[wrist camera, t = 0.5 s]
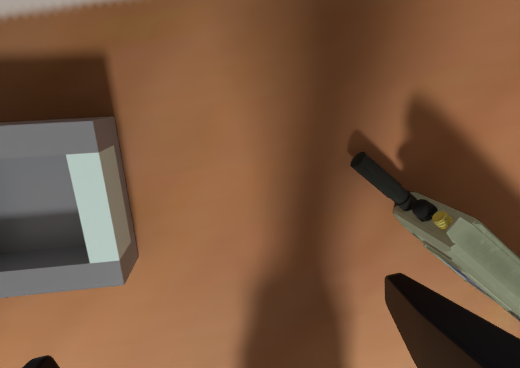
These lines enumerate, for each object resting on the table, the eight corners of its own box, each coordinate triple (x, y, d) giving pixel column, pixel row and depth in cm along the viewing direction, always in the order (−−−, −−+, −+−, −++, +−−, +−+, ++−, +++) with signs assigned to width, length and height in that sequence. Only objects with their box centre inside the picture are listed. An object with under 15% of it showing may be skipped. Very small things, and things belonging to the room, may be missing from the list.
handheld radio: (521, 329, 30) (332, 173, 23) (546, 303, 29) (362, 138, 23) (607, 391, 23) (379, 200, 17) (640, 359, 23) (421, 151, 16)
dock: (138, 256, 23) (124, 284, 19) (-11, 271, 22) (-53, 303, 18) (114, 116, 20) (92, 120, 17) (-58, 125, 19) (-118, 132, 16)
